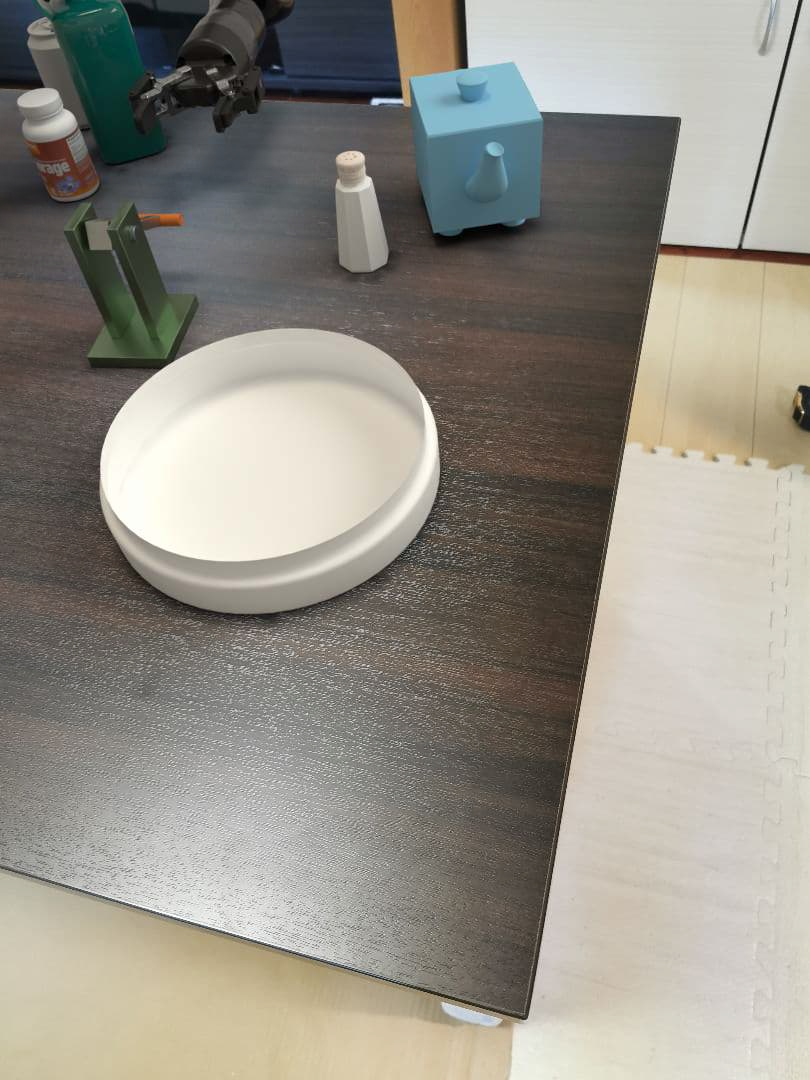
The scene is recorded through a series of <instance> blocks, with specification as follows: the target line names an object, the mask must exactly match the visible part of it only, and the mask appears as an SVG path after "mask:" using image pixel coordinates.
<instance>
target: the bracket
mask: <svg viewBox="0 0 810 1080" xmlns="http://www.w3.org/2000/svg"><path fill="white" fill-rule="evenodd" d="M138 214H139V213H138V210H137V207H136V205H135V202H134V201H123V202H122V203H121V204H120V207H118V210H117V211H116V213H115V214H114V216H113V217H112V218H113V219H112V221H111V223H110V224H109V226H108V228H107V229H106V230H107V233H108V235H109V238H110V240H111V243H112V245H113V248H114V250H113V251H114V252H115V255H116V257H117V260H118V262H119V265H120V267H121V271H122V272H123V275H124V277H125V280H126V282H127V284H128V287H129V289H130V293H129V291H128V289H127V286H126V284H125V282H124V279H123V277H122V274H121V272H120V269H119V267H118V265H117V262H116V259H115V256H114V255H113V252H112V250H93V251H91V250H90V248H89V242H88V237H87V232H86V226H85V222H86V221H91V220H95V219H99V218H98V215H97V212H96V211H95V208H94V206H93V203H92V202H80V204H79V206H78V207H77V209H75V212H74V213H73V215H71V218H70V219H69V220H68V222H67V223H66V225H65V226H64V227H63V229H62V230H63V234H64V235H65V238H66V240H67V242H68V244H69V247H70V249H71V251H72V253H73V256H74V258H75V260H76V263H77V265H78V267H79V268H80V271H81V274H82V275H83V279H84V280H85V282H86V285H87V287H88V289H89V292H90V294H91V295H92V298H93V300H94V302H95V304H96V307H97V309H98V312H99V314H100V316H101V318H102V320H103V322H104V325H103V327H102V329H101V330H100V332H99V334H98V336H97V338H96V339H95V341H94V343H93V345H92V347H91V349H90V350H89V352H88V354H87V356H86V358H87V360H88V362H89V364H90V367H92V368H93V367H94V368H145V369H146V368H151V369H152V368H153V369H163V368H165V367H166V366H167V365H169V364H171V363H172V362H174V361H175V360H174V359H175V358H176V355H177V353H178V350H179V348H180V346H181V344H182V342H183V340H184V338H185V335H186V333H187V331H188V329H189V326H190V324H191V322H192V320H193V318H194V315H195V313H196V311H197V309H198V306H199V305H200V303H199V299H198V297H197V294H196V293H168V292H167V290H166V287H165V284H164V281H163V278H162V276H161V273H160V271H159V267H158V265H157V263H156V259H155V257H154V254H153V251H152V249H151V248H152V247H151V246H150V243H149V241H148V238H147V235H146V232H145V231H144V229H143V227H142V224H141V221H140V218H139V216H138Z"/></svg>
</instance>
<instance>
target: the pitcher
mask: <svg viewBox="0 0 810 1080" xmlns="http://www.w3.org/2000/svg"><path fill="white" fill-rule="evenodd" d="M31 1H32V3H33V4H34V5H35V7H36V8H37V10H38V11H39V12H40V13H41V14H42V15H43V16H44V17H47V18H48V19H49V21H50V23H51V26H52V29H53V31H54V34H55V37H56V39H57V42H58V44H59V47H60V50H61V52H62V55H63V58H64V60H65V63H66V66H67V68H68V71H69V73H70V76H71V79H72V81H73V84H74V87H75V89H76V92H77V95H78V97H79V100H80V102H81V105H82V108H83V110H84V113H85V116H86V118H87V121H88V124H89V126H90V128H89V129H90V131H91V134H92V137H93V140H94V142H95V145H96V147H97V150H98V152H99V155H100V157H101V160H102V161H103V162H105V163H107V164H110V165H118V164H119V165H120V164H124V163H126V162H130V161H134V160H137V159H141V158H145V157H148V156H152V155H155V154H158V153H160V152H162V151H163V150H164V149H166V147H167V144H168V140H167V136H166V132H165V130H164V126H163V123H162V121H161V117H160V118H158V119H157V122H156V123H155V125H154V126H153V128H152V130H151V131H150V133H149V134H148V135H140V133H139V131H137V129H136V126H135V123H134V120H133V117H132V115H133V111H132V108H131V105H130V103H129V100H128V97H127V93H128V92H129V91H130V89H131V88H132V87H133V86H134V85H135V83H136V82H137V81H138V80H139V78H140V77H141V76H142V75H143V74H144V73H145V72H146V69H145V66H144V62H143V59H142V56H141V52H140V50H139V46H138V43H137V40H136V37H135V34H134V31H133V30H134V29H133V27H132V24H131V21H130V18H129V15H128V12H127V10H126V8H125V6H124V4H123V2H122V1H121V0H50V1H45V0H31ZM154 104H155V107H156V109H157V108H158V107H157V105H156V102H155V103H154Z"/></svg>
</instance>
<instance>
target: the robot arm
mask: <svg viewBox="0 0 810 1080" xmlns="http://www.w3.org/2000/svg"><path fill="white" fill-rule="evenodd" d="M295 2H296V1H295V0H209V10H208V12H207V13H206V15H205V16H204V17H202V18H201V19H200V20H199V21H198V23H197V24H196V25H195V27H194V28H193V30H192V31H191V32H190V34H189V35H188V37H187V39H186V40H185V42H184V43H183V45H182V46H181V47H180V50H179V51H178V54H177V59H176V62H175V69H174V70H173V71H172V72H170V73H168V74H167V76H166V77H163V78H156V75H155V72H154V71H153V70H146V71H145V73H144V74H143V75H142V76H141V77H140V78H139V80H138V81H137V82H136V83H135V85H134V86H133V87H132V88H131V89H130V91H129V92H128V93H127V97H128V100H129V103H130V105H131V108H132V111H133V115H132V117H133V120H134V123H135V126H136V129H137V131H139V133H140V135H148V134H149V133H150V131H151V130H152V128H153V126H154V125H155V123H156V122H157V119H158V118H160V119H161V118H162V117H164V116H166V115H168V116H170V117H174V116H177V115H179V114H181V113H183V112H184V111H186V110H189V109H190V108H191V109H196V108H197V107H200V108H201V107H202V108H213V109H212V112H211V118H212V122H213V125H214V129H215V132H216V134H224V133H225V132H226V130H227V129H229V128H230V127H231V126H232V125H233V123H234V121H235V119H236V118H238V117H240V116H241V115H242V112H246V113H247V115H255V114H257V113H258V112H259V110H260V108H261V107H260V106H261V105H262V101H263V98H264V97H265V94H266V86H265V81H264V77H263V73H262V67H260V66H259V65H257V66H256V65H255V64H256V59H257V57H258V55H259V53H260V52H261V49H262V47H263V45H264V42H265V39H266V35H267V30H269V29H270V28H273V27H274V26H276V25H278V24H279V23H281V22H283V21H285V20H286V19H288V18H289V17H290V16H291V15H292V13H293V11H294V8H295ZM172 98H173V99H174V100H175V101H176V103H173V100H172ZM157 101H160V106H159V107H157V106H156V107H157V109H156V107H155V104H156V102H157ZM154 103H155V104H154Z"/></svg>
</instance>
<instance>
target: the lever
mask: <svg viewBox="0 0 810 1080" xmlns="http://www.w3.org/2000/svg"><path fill="white" fill-rule="evenodd" d="M138 216H139V218H140V221H141V224H142V227H143V229H144V232H145V231H148V230H152V229H155V228H159V227H161V228H163V227H167V228H168V227H183V225H184V217H183V215H182V213H138ZM113 218H114V217H102V218H101V217H100V218H98V219H95V220H91V221H86V222H85V226H86V232H87V237H88V242H89V248H90V250H91V251H93V250H111V251H115V250H114V248H113V245H112V243H111V240H110V238H109V235H108V233H107V230H106V229H107V228H108V226H109V224H110V223H111V221H112V219H113Z"/></svg>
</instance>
